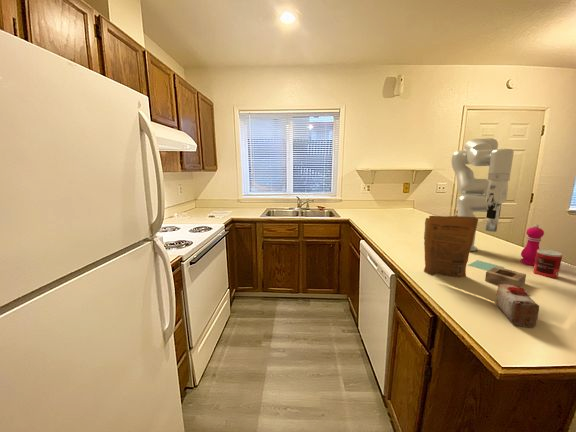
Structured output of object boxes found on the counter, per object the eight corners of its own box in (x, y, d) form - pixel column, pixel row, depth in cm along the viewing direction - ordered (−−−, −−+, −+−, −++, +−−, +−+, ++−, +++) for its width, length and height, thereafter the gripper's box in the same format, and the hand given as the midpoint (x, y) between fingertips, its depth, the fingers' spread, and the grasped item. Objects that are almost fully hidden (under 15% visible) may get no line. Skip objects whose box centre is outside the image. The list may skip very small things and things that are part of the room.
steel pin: (494, 232, 112) (498, 206, 110) (484, 230, 115) (487, 205, 113) (498, 230, 114) (501, 205, 112) (487, 229, 117) (491, 204, 115)
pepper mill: (543, 267, 118) (551, 226, 114) (526, 266, 119) (533, 226, 115) (532, 261, 125) (539, 222, 121) (516, 260, 126) (522, 222, 122)
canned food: (550, 272, 112) (554, 249, 109) (562, 280, 104) (567, 256, 102) (528, 271, 114) (532, 248, 112) (539, 278, 107) (544, 254, 105)
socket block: (484, 283, 104) (486, 271, 103) (494, 276, 109) (495, 266, 108) (515, 292, 96) (517, 280, 95) (524, 285, 101) (526, 274, 100)
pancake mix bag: (471, 283, 104) (480, 218, 98) (420, 274, 113) (425, 215, 108) (469, 277, 110) (477, 215, 104) (420, 269, 119) (425, 212, 113)
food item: (491, 302, 90) (495, 277, 88) (519, 306, 87) (523, 280, 85) (509, 325, 77) (514, 296, 75) (542, 330, 74) (548, 300, 72)
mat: (467, 267, 120) (467, 265, 120) (477, 261, 126) (477, 260, 126) (495, 275, 111) (495, 273, 111) (504, 269, 117) (504, 267, 117)
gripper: (501, 178, 102) (495, 221, 106) (516, 176, 111) (510, 216, 115) (480, 178, 109) (475, 218, 112) (495, 176, 117) (490, 214, 121)
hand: (492, 217), depth 113 cm, fingers closed on steel pin, 4 cm apart
